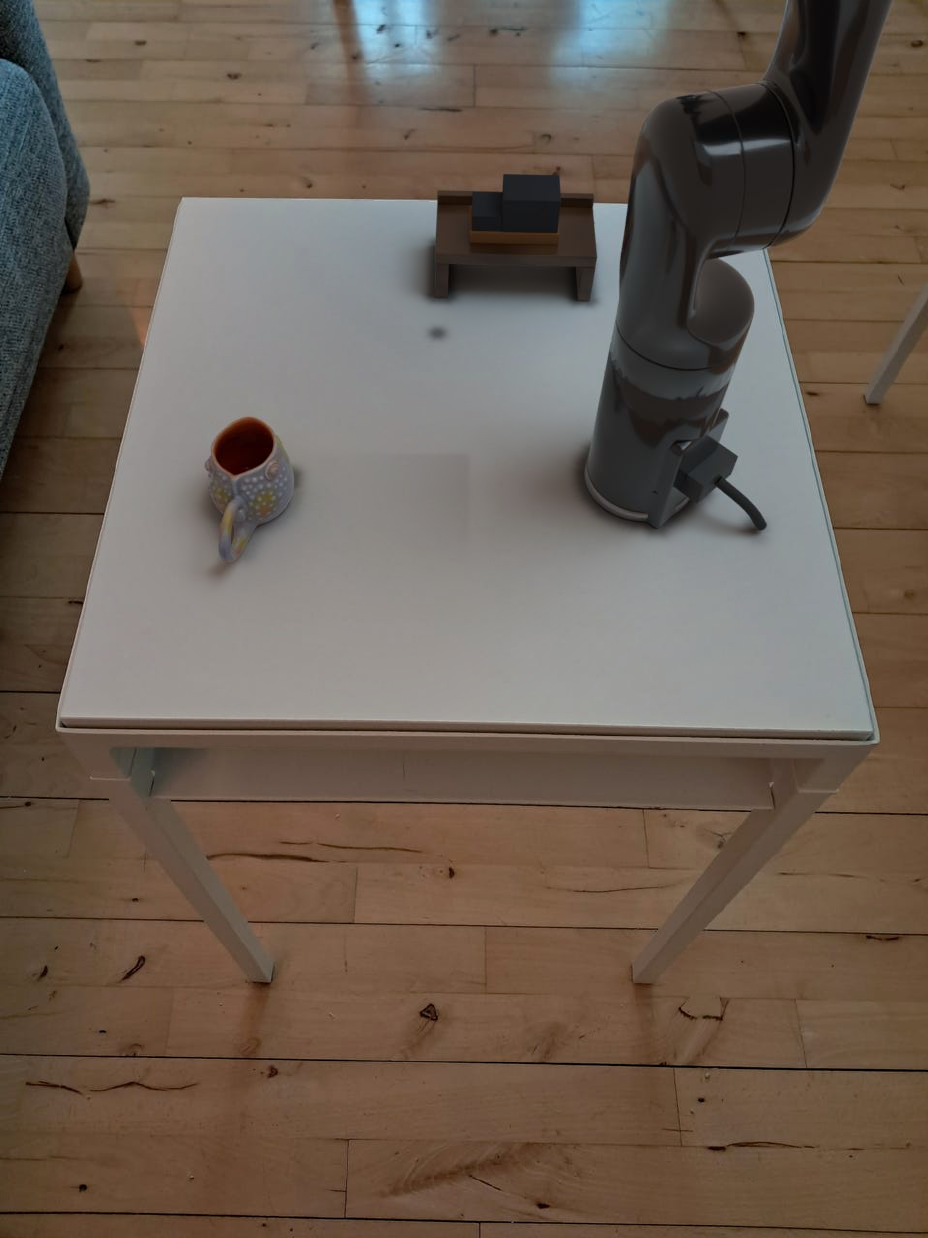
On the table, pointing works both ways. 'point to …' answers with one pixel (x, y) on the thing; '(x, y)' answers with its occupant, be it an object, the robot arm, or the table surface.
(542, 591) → the table surface
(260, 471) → the mug
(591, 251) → the shoe shelf
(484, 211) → the stepped blocks on board
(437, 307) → the table surface
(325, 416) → the table surface
